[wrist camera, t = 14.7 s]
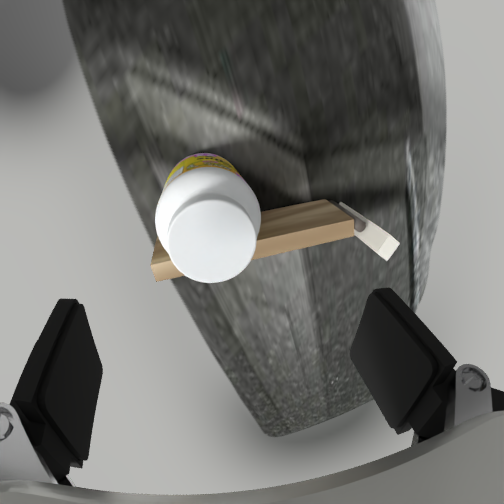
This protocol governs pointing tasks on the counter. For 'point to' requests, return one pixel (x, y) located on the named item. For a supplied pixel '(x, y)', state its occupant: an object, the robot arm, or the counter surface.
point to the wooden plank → (283, 232)
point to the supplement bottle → (208, 218)
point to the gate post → (375, 236)
